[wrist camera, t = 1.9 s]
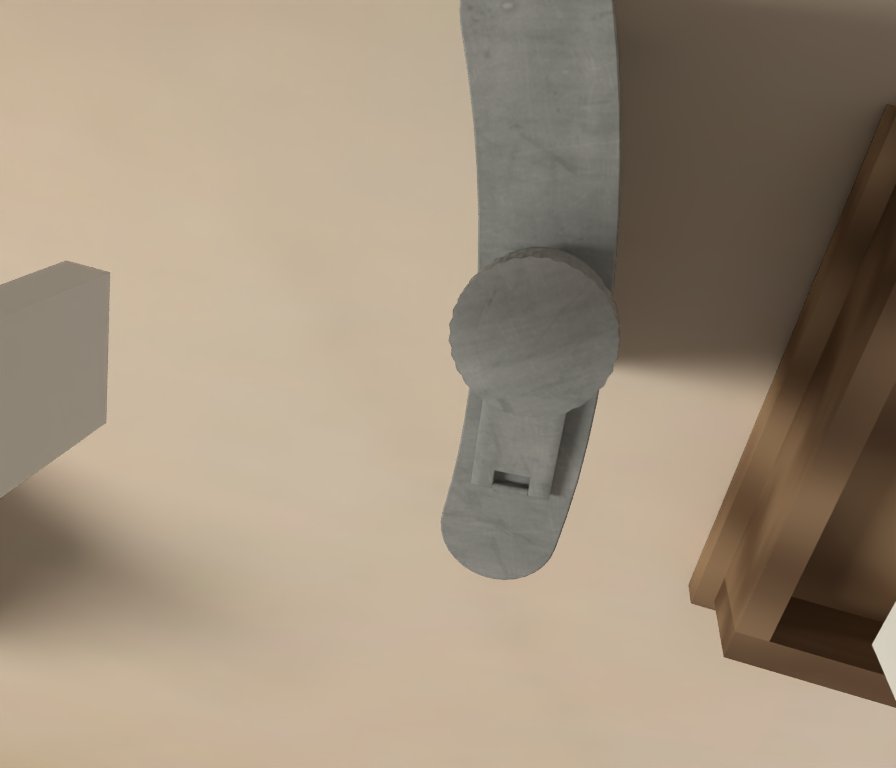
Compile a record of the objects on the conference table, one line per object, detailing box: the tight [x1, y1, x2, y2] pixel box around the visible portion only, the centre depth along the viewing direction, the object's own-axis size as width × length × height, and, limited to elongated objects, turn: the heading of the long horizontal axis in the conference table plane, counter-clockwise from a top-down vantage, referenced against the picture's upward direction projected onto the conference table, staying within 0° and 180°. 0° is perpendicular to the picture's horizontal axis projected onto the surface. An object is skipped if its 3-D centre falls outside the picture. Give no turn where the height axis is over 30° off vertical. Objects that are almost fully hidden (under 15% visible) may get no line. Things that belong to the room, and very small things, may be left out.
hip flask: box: [441, 0, 621, 580], centre depth 26 cm, size 16×4×20 cm, turn 178°
